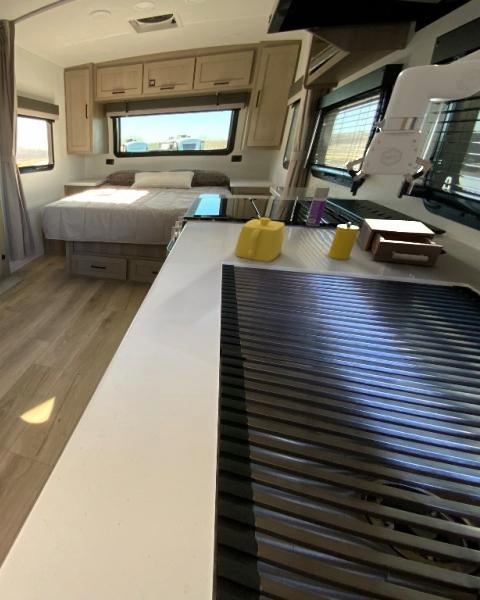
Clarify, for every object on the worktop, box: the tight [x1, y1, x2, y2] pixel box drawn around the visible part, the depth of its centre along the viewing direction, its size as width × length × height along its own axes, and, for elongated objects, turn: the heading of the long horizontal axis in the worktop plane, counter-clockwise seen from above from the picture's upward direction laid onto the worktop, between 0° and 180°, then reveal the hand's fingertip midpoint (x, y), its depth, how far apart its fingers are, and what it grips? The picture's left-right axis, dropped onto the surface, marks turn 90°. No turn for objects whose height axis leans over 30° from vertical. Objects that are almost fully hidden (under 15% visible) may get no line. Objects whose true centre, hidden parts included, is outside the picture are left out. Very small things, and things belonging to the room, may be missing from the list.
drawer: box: [369, 232, 444, 267], centre depth 98 cm, size 18×13×6 cm
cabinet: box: [356, 218, 436, 252], centre depth 107 cm, size 15×15×8 cm
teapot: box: [235, 217, 285, 263], centre depth 107 cm, size 20×12×12 cm, turn 138°
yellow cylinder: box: [327, 221, 360, 260], centre depth 100 cm, size 5×5×11 cm
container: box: [305, 185, 331, 227], centre depth 134 cm, size 5×5×15 cm
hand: (375, 196), depth 91 cm, fingers open, 9 cm apart
